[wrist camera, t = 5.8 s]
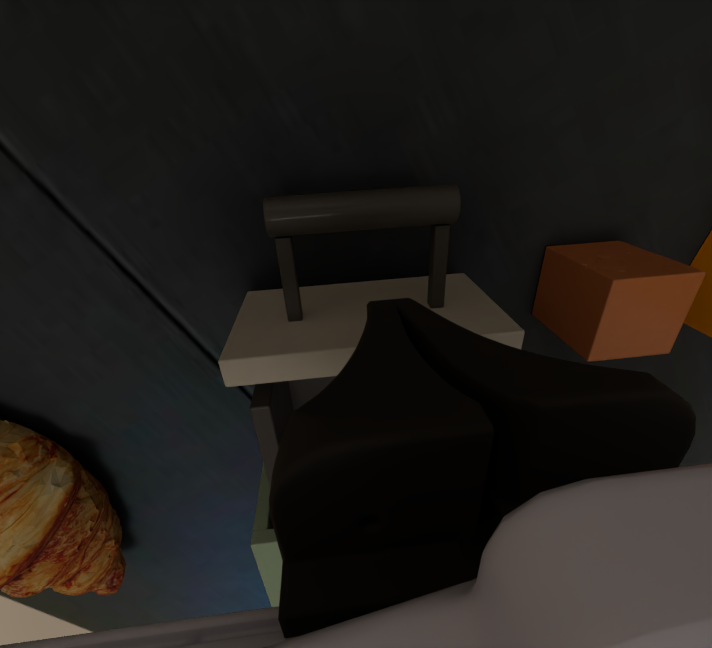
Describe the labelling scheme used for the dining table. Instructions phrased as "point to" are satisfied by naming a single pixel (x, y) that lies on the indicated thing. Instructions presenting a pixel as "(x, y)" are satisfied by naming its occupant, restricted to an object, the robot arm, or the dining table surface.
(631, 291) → the rust orange cube
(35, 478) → the croissant
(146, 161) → the dining table surface
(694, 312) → the orange juice
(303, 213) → the cream drawer
